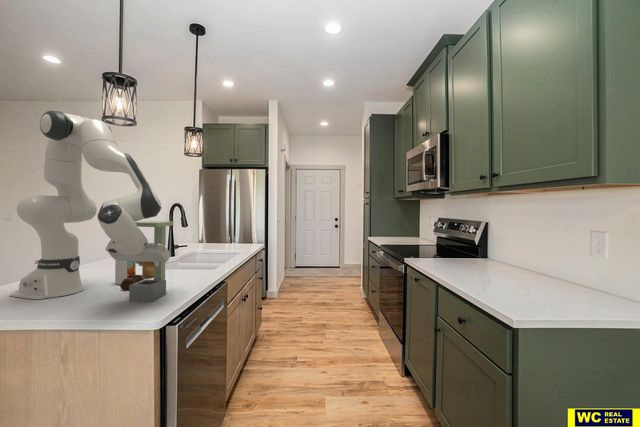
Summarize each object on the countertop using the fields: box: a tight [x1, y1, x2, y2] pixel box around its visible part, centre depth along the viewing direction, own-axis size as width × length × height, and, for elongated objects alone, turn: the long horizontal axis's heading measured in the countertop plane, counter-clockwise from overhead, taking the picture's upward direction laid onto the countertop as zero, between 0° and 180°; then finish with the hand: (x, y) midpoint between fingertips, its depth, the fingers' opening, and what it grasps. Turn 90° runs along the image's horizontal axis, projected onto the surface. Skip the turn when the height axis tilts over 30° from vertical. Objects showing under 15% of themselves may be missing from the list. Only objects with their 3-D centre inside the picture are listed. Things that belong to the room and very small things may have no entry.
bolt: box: [119, 274, 144, 292], centre depth 128 cm, size 6×5×15 cm
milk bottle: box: [114, 260, 137, 286], centre depth 132 cm, size 8×8×20 cm
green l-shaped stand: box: [135, 220, 174, 280], centre depth 115 cm, size 10×12×30 cm
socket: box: [128, 278, 167, 303], centre depth 113 cm, size 9×9×6 cm
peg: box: [141, 261, 154, 279], centre depth 112 cm, size 4×4×9 cm
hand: (149, 264), depth 113 cm, fingers closed on peg, 4 cm apart
